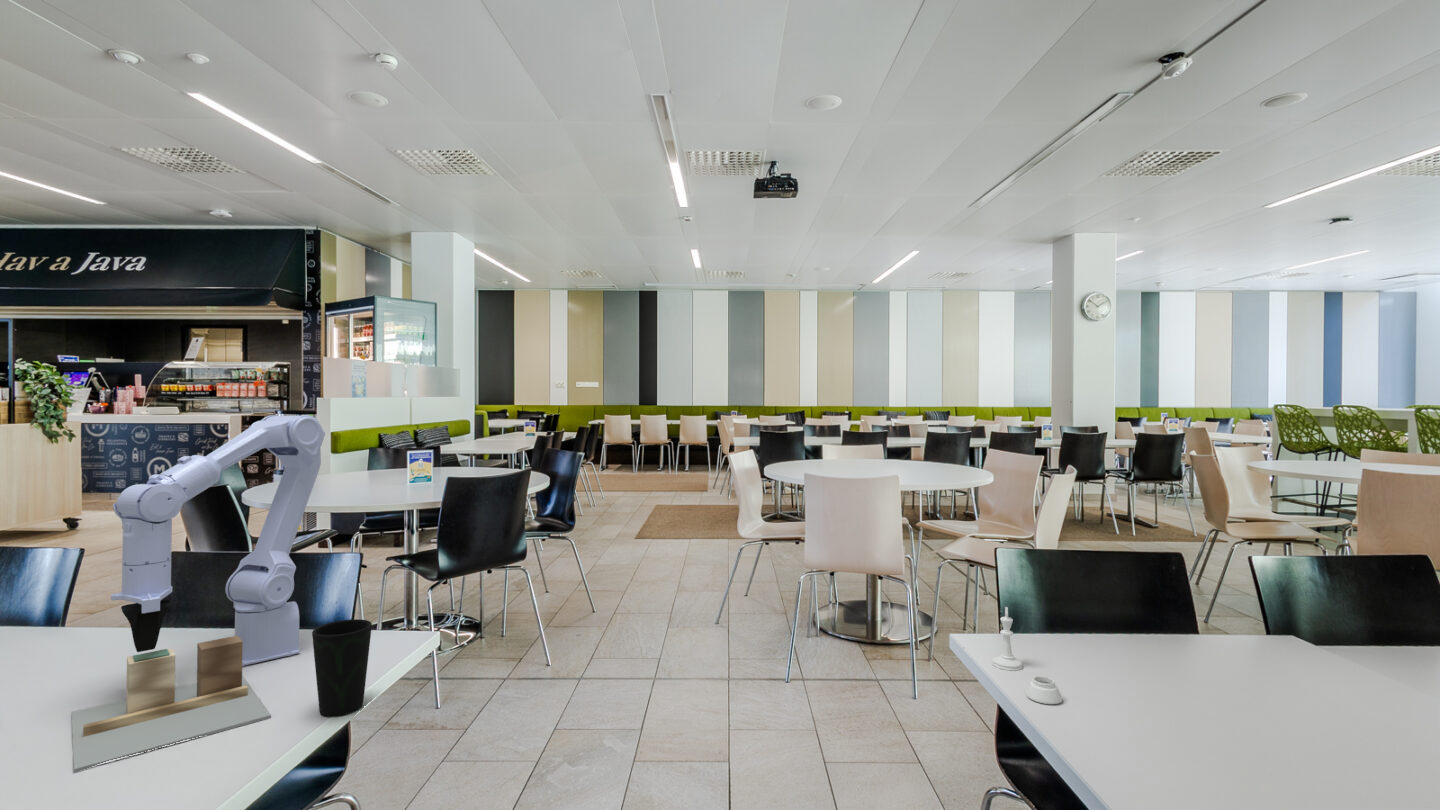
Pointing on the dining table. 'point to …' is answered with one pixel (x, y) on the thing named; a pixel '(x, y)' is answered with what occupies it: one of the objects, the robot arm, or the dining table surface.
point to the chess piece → (1006, 648)
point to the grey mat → (159, 726)
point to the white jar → (1043, 691)
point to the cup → (341, 665)
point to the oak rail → (163, 711)
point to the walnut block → (219, 665)
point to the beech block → (150, 680)
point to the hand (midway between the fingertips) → (145, 649)
